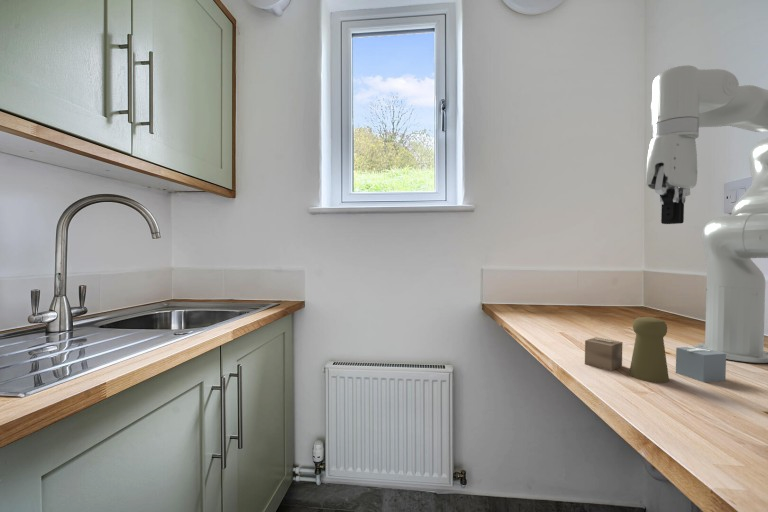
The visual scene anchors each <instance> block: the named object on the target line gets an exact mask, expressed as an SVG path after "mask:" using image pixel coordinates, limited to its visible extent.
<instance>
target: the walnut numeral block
mask: <svg viewBox="0 0 768 512" xmlns="http://www.w3.org/2000/svg"><path fill="white" fill-rule="evenodd" d="M584 365H587V366H590V367H595V368H598V369H603V370H606V371H610V372H612V371H614V370H616V369H619V368H620V367H623V341H618V340H612V339H610V338H609V339H607V338H602V337H597V336H595V337H593V338H590V339H585V340H584Z"/></svg>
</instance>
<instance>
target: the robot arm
mask: <svg viewBox="0 0 768 512" xmlns="http://www.w3.org/2000/svg"><path fill="white" fill-rule="evenodd" d="M651 92H652V93H651V103H650V112H651V125H650V126H651V131H650V134H651V136H650V143H649V148H648V153H647V160H646V171H645V185H646V187H647V188H648V189H650V190H654V192H655V193H656V194H658V195H659V200H660V201H659V202H660V204H661V209H660V211H661V215H660V217H661V220H660V223H661V224H662V225H675V224H676V225H677V224H683V223H684V219H685V216H684V215H685V203H686V198H687V197H688V196H690V195H691V189H693V188H695V187H696V186H697V182H698V153H697V144H696V139H698V138H699V134H700V133H699V131H700V129H699V128H718V127H733V128H737V129H742V130H745V131H750V132H754V133H768V89H765V88H763V87H759V86H757V85H751V84H749V85H748V84H747V85H745V84H744V85H739V80H738V78H737V76H735V74H734V73H733V72H731V71H729V70H725V69H720V68H719V69H718V68H713V69H712V68H711V69H707V68H706V69H701V68H700V69H699V68H698V67H696V66H694V65H680V66H679V65H678V66H673V67H671V68H668V69H666V70H665V69H664V71H661V72H660V73H659V74H657V75H656V76H655V77H654V79H653V81H652V86H651ZM748 155H749V157H748V162H749V170H750V175H751V180H752V184H751V185H750V186H749V187H748V188H747V190H746V191H744V193H743V194H742V195H741V197H740V198H739V199H738V200H737V201H736V202H735V204H734V206H733V208H732V210H731V213H730V214H731V215H724V216H720V217H716V218H714V219H712V220H710V221H708V222H707V223H706V224H705V225H704V226H703V228H702V232H701V240H702V245H703V251H704V255H705V262H706V264H705V265H706V292H705V293H706V294H705V295H706V296H705V329H704V330H705V332H704V333H705V336H704V337H705V339H704V340H705V341H704V342H700V343H697V344H696V345H695V347H696V346H698V347H702V348H706V349H710V350H714V351H717V352H721V353H725V354H726V360H729V361H734V362H735V361H736V362H744V363H755V364H756V363H757V364H767V363H768V352H767V351H765V350H764V349H765V348H764V345H765V344H764V343H765V308H766V307H765V306H766V278H765V276H764V273H763V272H762V270H761V268H759V266H758V265H757V264H756V263H755V262H754V261H753V259H768V137H766V138H765V139H762V140H760V141H759V142H757V143H756V144H754V145H753V147H752V148H751V150H750V152H749V154H748Z"/></svg>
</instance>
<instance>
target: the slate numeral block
mask: <svg viewBox="0 0 768 512" xmlns="http://www.w3.org/2000/svg"><path fill="white" fill-rule="evenodd" d="M675 351H676V352H675V354H676V355H675V374H678V375H680V376H684V377H687V378H690V379H692V380H696V381H698V382H701V383H713V381H714V382H725V381H726V379H727V378H726V376H727V375H726V374H727V372H726V370H727V366H726V365H727V359H726V354H725V353H721V352H717V351H714V350H710V349H706V348H702V347H698V346H696V345H695V346H681V347H676V349H675Z"/></svg>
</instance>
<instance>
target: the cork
mask: <svg viewBox="0 0 768 512" xmlns="http://www.w3.org/2000/svg"><path fill="white" fill-rule="evenodd" d="M632 329H633V332H634V333H635V339H634V345H633V350H632V351H633V352H632V355H631V361H630V366H629V367H630V368H629V371H628V372H629V376H631V377H633V378H635V379H638V380H641V381H645V382H649V383H657V384H658V383H659V384H661V383H662V384H663V383H668V382H669V381H670V377H669V370H668V362H667V356H666V355H667V354H666V348H665V341H664V340H665V339H664V337H665V336H666V335H667V332H668V325H667V323H666V321H664V320H662V319H660V318H656V317H650V316H649V317H647V316H644V317H643V316H642V317H637V318H634V320H633V323H632Z"/></svg>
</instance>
